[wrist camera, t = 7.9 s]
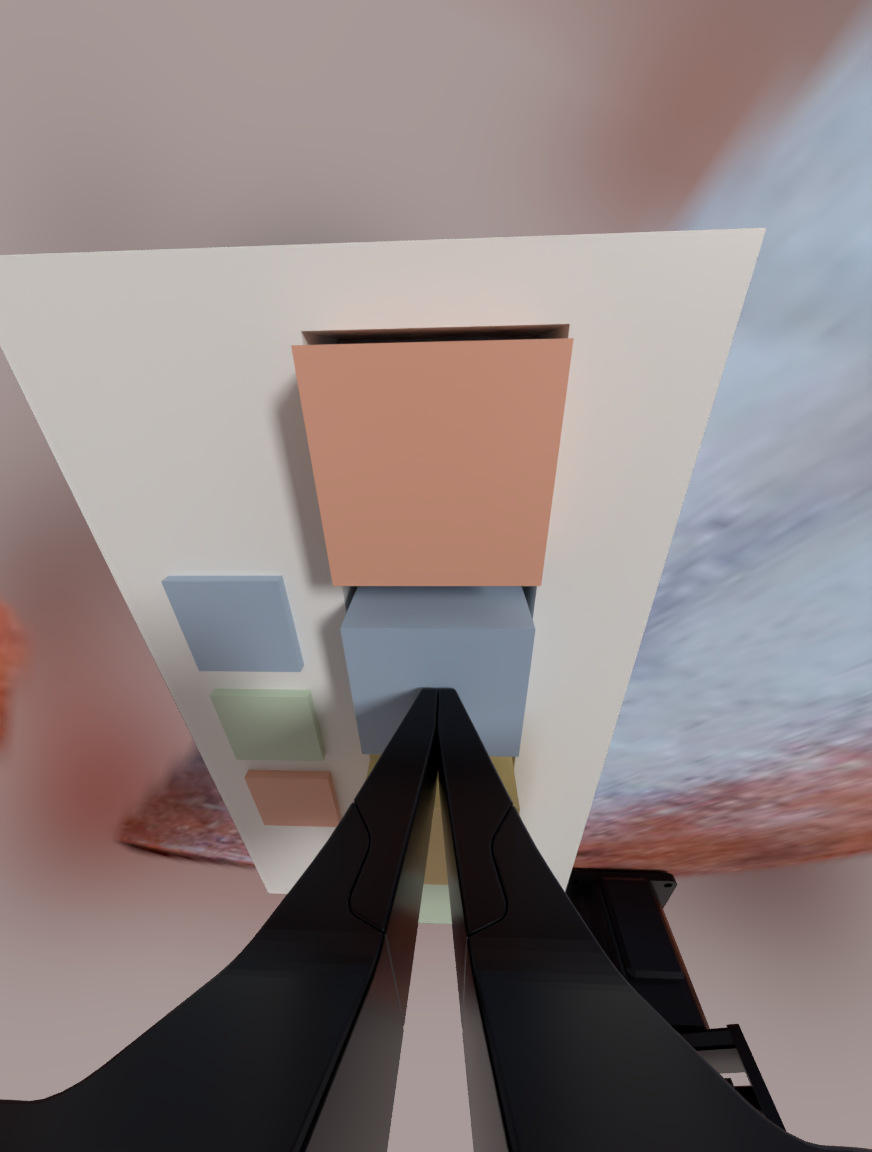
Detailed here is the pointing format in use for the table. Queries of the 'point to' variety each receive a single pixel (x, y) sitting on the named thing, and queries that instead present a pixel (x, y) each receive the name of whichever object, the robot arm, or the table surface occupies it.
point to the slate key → (439, 657)
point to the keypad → (288, 493)
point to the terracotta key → (435, 457)
